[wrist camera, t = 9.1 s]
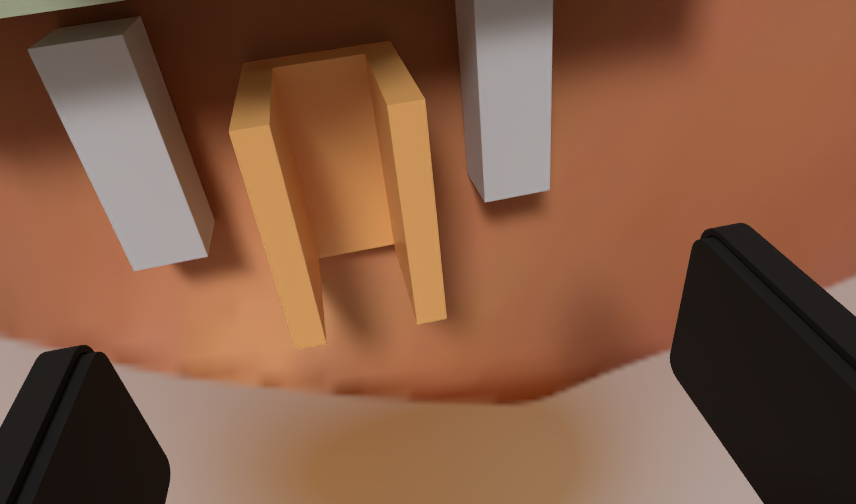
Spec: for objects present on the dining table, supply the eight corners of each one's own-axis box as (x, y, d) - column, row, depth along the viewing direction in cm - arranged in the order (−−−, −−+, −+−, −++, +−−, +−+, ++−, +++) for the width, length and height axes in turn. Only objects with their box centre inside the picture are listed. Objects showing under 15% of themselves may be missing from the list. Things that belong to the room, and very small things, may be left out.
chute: (389, 40, 16) (425, 98, 12) (412, 223, 20) (446, 318, 15) (243, 61, 16) (228, 131, 12) (292, 246, 19) (295, 350, 15)
